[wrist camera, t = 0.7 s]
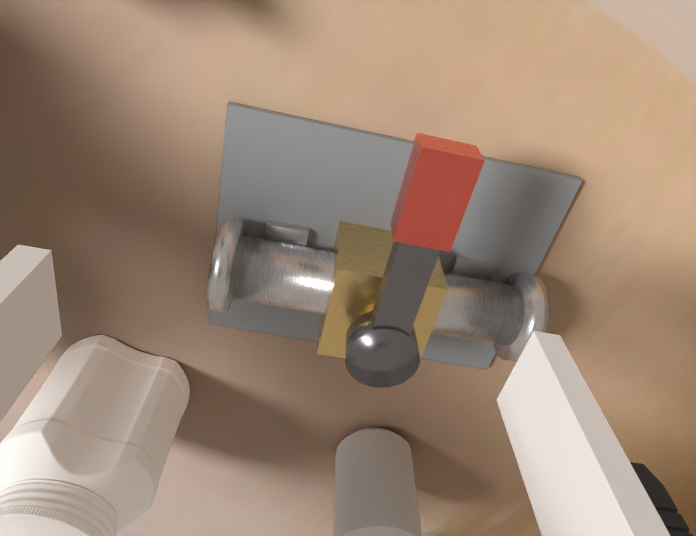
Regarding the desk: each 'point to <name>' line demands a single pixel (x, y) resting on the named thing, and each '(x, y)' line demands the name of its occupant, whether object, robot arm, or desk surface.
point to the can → (375, 486)
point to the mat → (373, 208)
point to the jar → (91, 442)
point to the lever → (413, 258)
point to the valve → (370, 286)
